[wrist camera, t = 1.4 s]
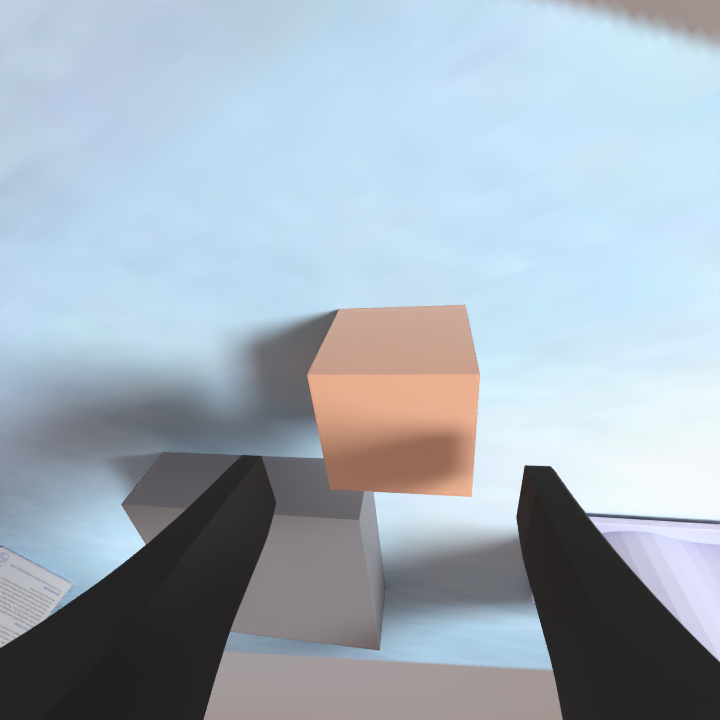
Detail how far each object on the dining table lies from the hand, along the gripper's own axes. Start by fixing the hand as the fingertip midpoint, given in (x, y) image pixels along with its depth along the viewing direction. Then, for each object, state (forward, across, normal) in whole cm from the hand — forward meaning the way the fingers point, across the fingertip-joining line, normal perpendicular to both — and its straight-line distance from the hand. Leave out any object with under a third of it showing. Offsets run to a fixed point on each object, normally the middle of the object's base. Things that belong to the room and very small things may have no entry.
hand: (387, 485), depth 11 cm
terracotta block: (+7, 0, 0) cm, 7 cm away
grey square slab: (+7, +8, +12) cm, 16 cm away
